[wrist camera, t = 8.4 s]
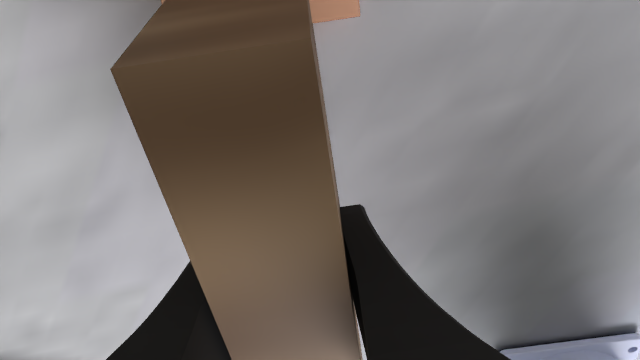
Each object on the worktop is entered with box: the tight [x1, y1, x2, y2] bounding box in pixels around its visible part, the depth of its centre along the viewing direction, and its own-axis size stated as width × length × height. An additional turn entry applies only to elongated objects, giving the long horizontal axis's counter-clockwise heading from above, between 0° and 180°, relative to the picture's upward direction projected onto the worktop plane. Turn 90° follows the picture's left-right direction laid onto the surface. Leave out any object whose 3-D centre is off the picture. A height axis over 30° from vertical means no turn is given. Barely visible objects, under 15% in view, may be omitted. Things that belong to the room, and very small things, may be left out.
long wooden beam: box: [110, 0, 362, 360], centre depth 13 cm, size 14×3×5 cm, turn 8°
